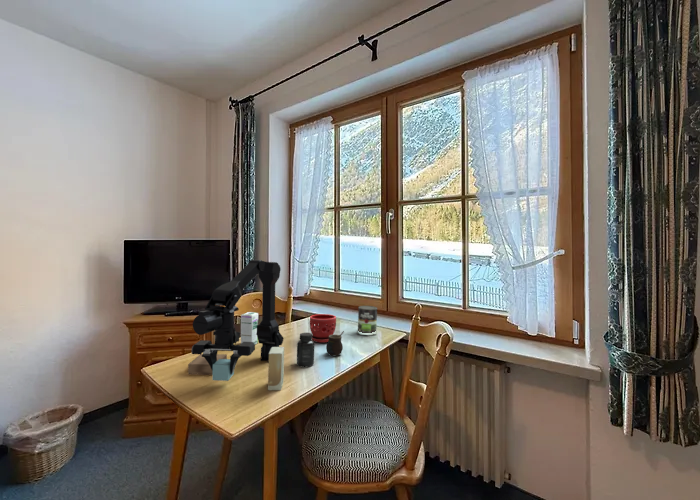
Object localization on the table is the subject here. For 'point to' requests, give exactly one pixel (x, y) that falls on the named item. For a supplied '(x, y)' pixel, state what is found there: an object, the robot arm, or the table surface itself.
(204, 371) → the walnut block
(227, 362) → the teal cube
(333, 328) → the plant pot
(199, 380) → the table surface
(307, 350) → the supplement bottle
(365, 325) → the coffee can
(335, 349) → the mate gourd
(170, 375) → the table surface
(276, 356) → the skincare box
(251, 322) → the syrup box
